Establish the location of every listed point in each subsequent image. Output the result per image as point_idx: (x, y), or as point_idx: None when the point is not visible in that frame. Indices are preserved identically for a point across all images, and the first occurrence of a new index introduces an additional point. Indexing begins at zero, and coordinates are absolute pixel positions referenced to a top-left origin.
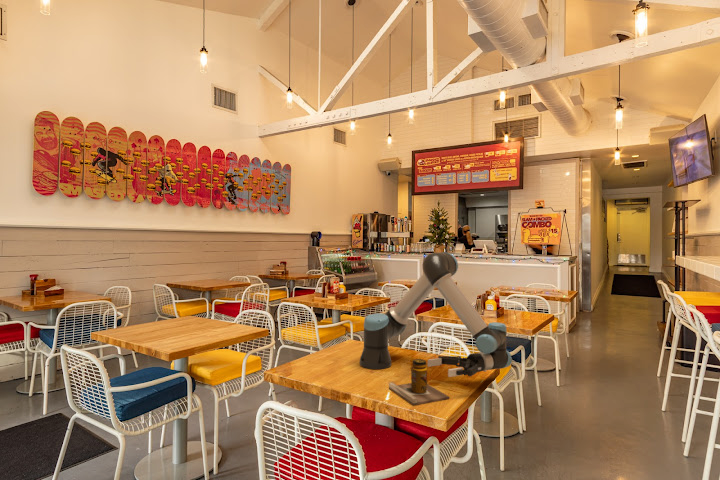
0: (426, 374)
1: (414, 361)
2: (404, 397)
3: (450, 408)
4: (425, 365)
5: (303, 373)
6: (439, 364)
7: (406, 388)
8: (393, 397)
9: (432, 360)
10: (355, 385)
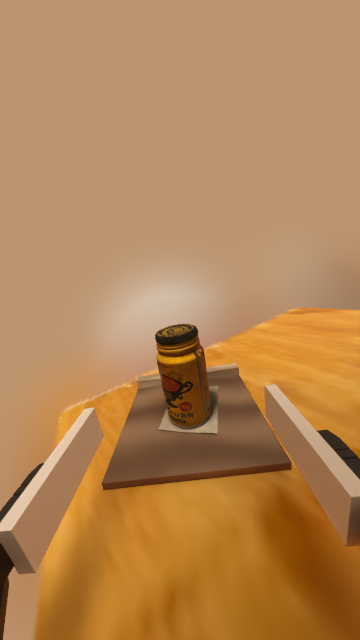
0: (162, 375)
1: (176, 325)
2: None
3: None
4: (158, 346)
5: (304, 317)
6: (324, 506)
7: (213, 391)
8: None
9: (278, 408)
10: (256, 345)
